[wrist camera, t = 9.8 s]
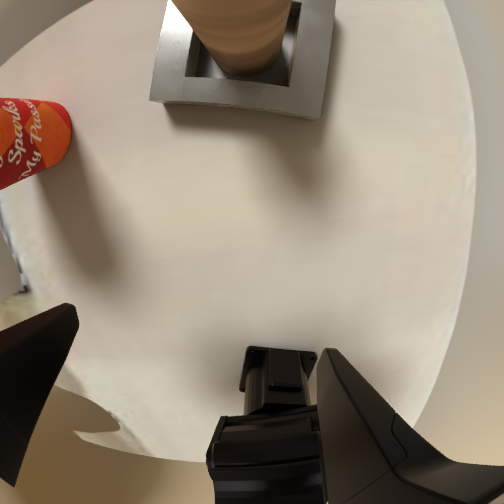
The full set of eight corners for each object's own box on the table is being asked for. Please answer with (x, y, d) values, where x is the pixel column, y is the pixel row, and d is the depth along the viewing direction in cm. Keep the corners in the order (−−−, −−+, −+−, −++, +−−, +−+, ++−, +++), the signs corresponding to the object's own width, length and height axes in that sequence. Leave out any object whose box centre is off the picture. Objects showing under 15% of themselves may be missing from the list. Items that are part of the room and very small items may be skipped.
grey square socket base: (312, 120, 17) (320, 118, 14) (162, 103, 16) (147, 100, 14) (328, 6, 13) (337, -9, 11) (184, -7, 13) (174, -23, 10)
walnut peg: (275, 81, 16) (296, 4, 5) (208, 74, 16) (130, 3, 5) (284, 23, 14) (309, -88, 3) (218, 17, 14) (168, -90, 3)
